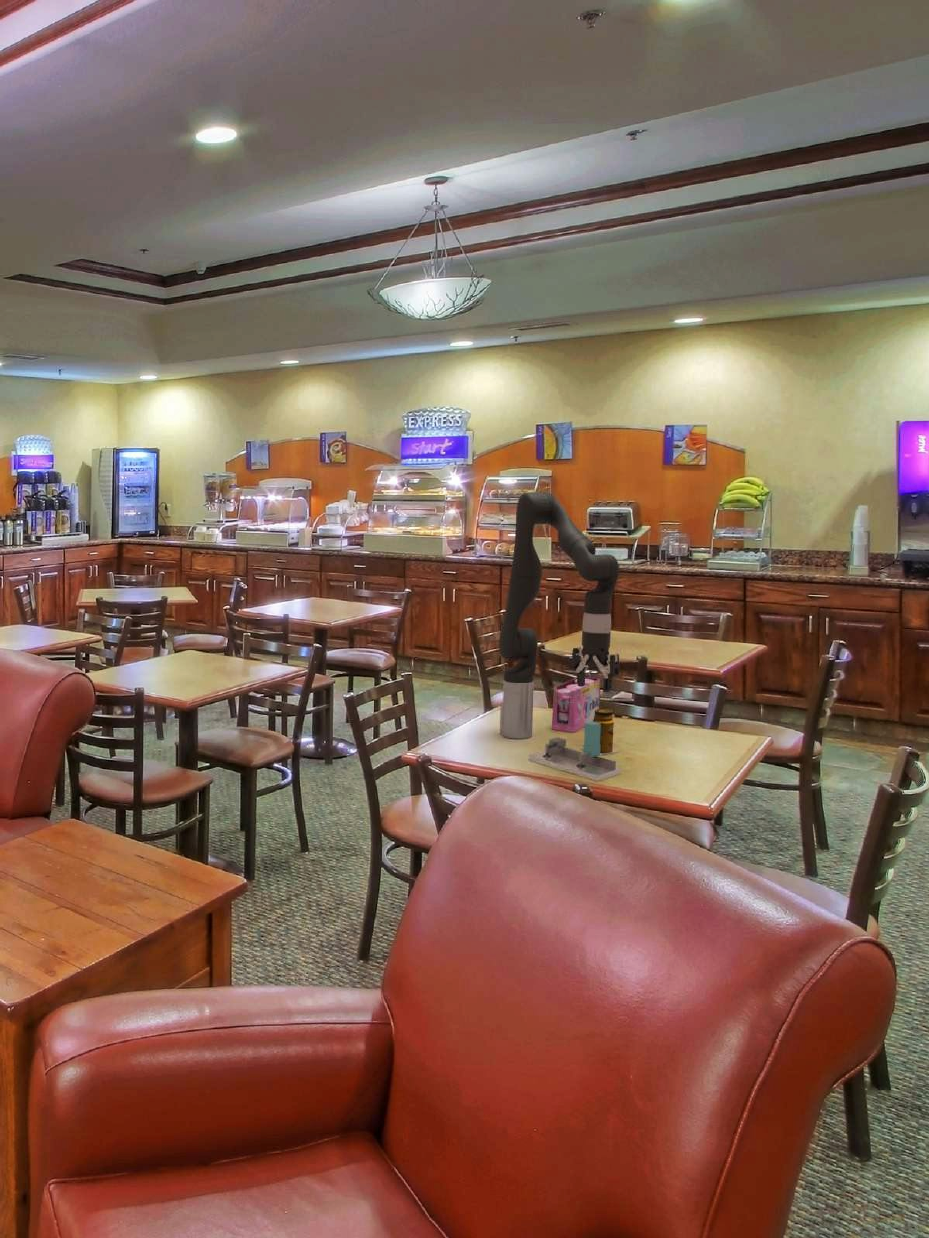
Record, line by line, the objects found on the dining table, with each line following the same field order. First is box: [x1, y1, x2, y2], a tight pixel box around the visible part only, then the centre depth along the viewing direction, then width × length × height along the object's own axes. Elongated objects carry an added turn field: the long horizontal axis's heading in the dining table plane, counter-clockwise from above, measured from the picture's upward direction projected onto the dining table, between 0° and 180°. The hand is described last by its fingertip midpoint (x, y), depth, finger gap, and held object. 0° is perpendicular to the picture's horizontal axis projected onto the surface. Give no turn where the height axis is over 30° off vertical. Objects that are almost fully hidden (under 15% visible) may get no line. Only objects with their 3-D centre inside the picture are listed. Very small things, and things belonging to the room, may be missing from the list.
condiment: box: [581, 708, 619, 756], centre depth 258 cm, size 7×8×12 cm
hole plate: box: [528, 736, 622, 782], centre depth 242 cm, size 24×10×6 cm, turn 44°
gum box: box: [551, 676, 601, 733], centre depth 288 cm, size 24×8×14 cm, turn 151°
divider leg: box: [579, 721, 601, 765], centre depth 239 cm, size 3×7×11 cm, turn 134°
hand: (593, 689), depth 239 cm, fingers open, 8 cm apart
